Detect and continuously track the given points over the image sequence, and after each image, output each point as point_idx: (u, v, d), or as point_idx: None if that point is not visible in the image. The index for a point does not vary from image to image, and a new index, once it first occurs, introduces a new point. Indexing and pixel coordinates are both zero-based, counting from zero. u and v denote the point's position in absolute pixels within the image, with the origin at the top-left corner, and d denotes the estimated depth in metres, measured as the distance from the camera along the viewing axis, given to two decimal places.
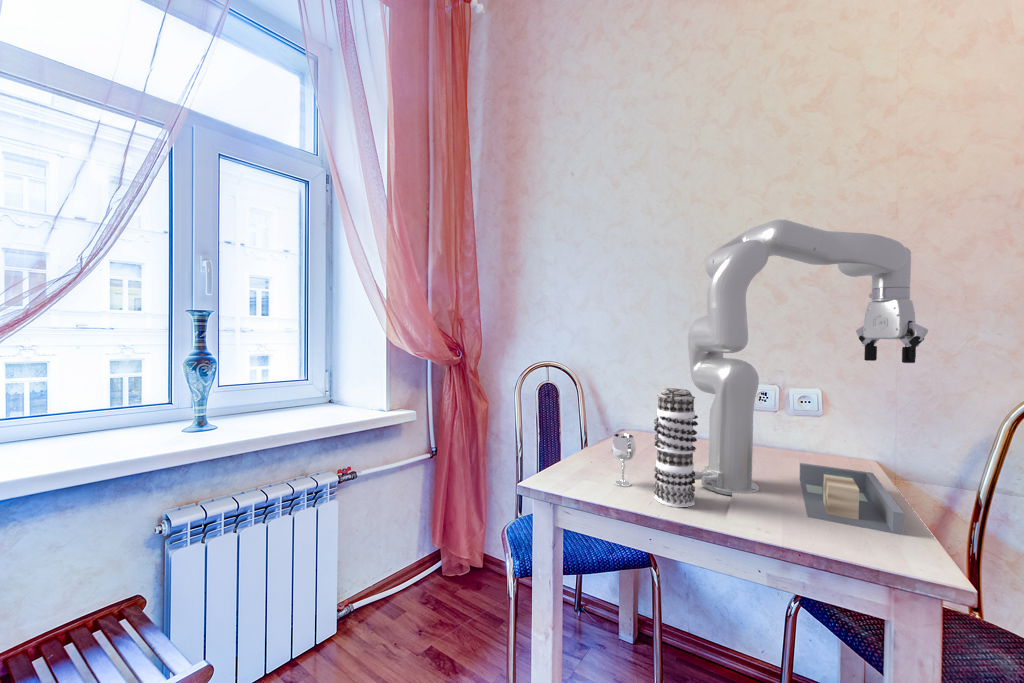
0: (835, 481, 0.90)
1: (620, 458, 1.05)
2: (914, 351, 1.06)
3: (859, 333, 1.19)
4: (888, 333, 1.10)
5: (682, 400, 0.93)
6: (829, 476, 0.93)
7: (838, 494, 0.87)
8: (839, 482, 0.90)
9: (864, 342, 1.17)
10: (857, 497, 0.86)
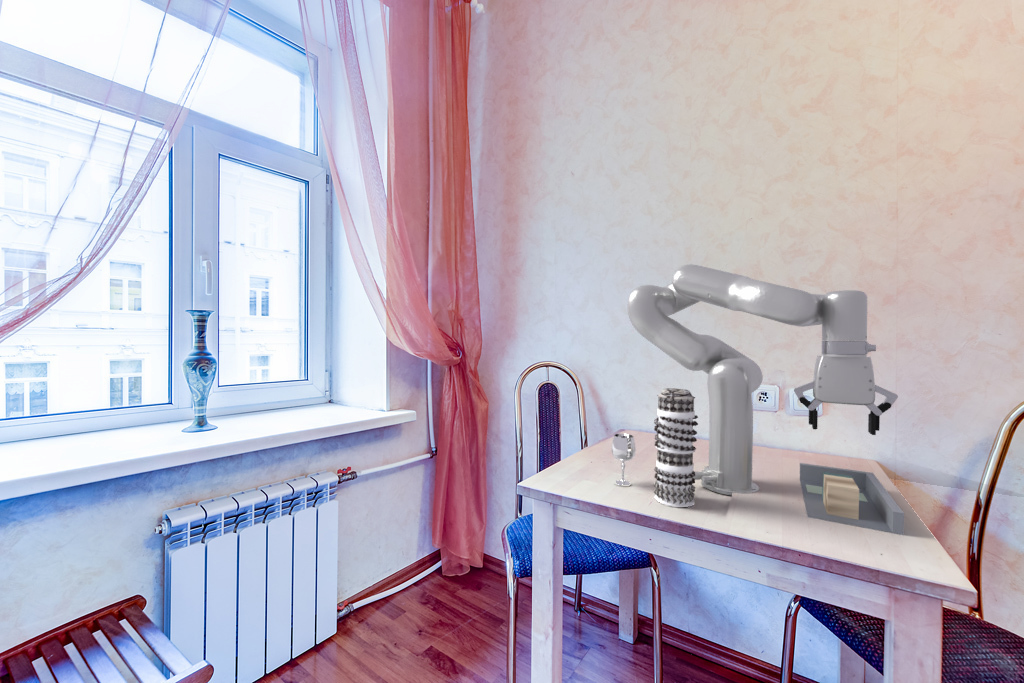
0: (835, 481, 0.90)
1: (620, 458, 1.05)
2: (809, 415, 0.93)
3: None
4: None
5: (682, 400, 0.93)
6: (829, 476, 0.93)
7: (838, 494, 0.87)
8: (839, 482, 0.90)
9: None
10: (857, 497, 0.86)
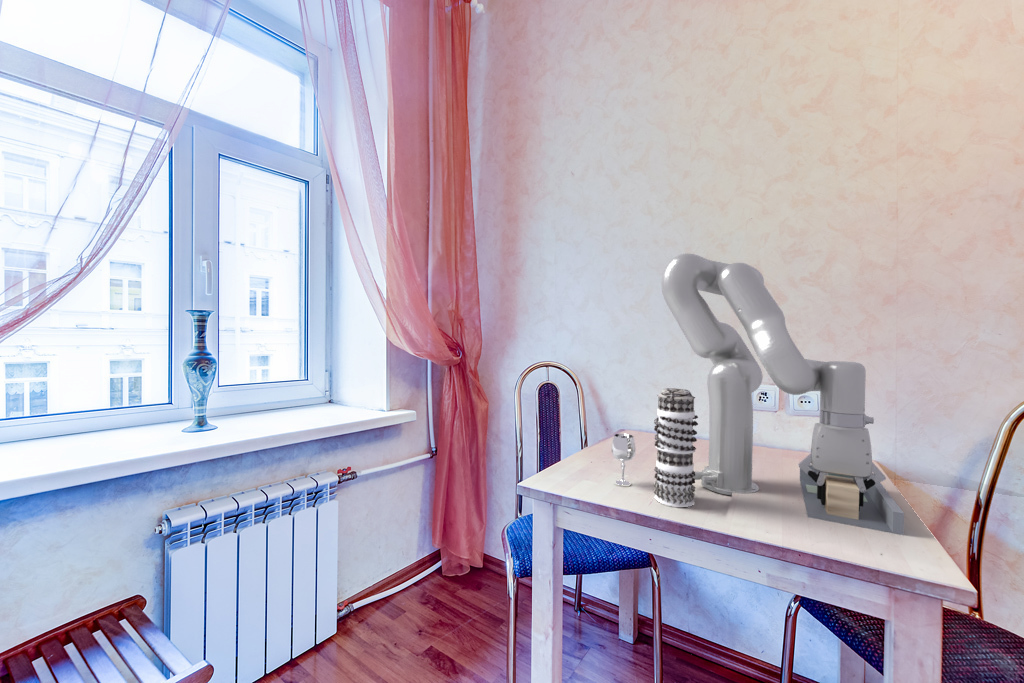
0: (835, 481, 0.90)
1: (620, 458, 1.05)
2: (817, 489, 0.93)
3: None
4: None
5: (682, 400, 0.93)
6: (829, 476, 0.93)
7: (838, 494, 0.87)
8: (839, 482, 0.89)
9: None
10: (857, 497, 0.86)
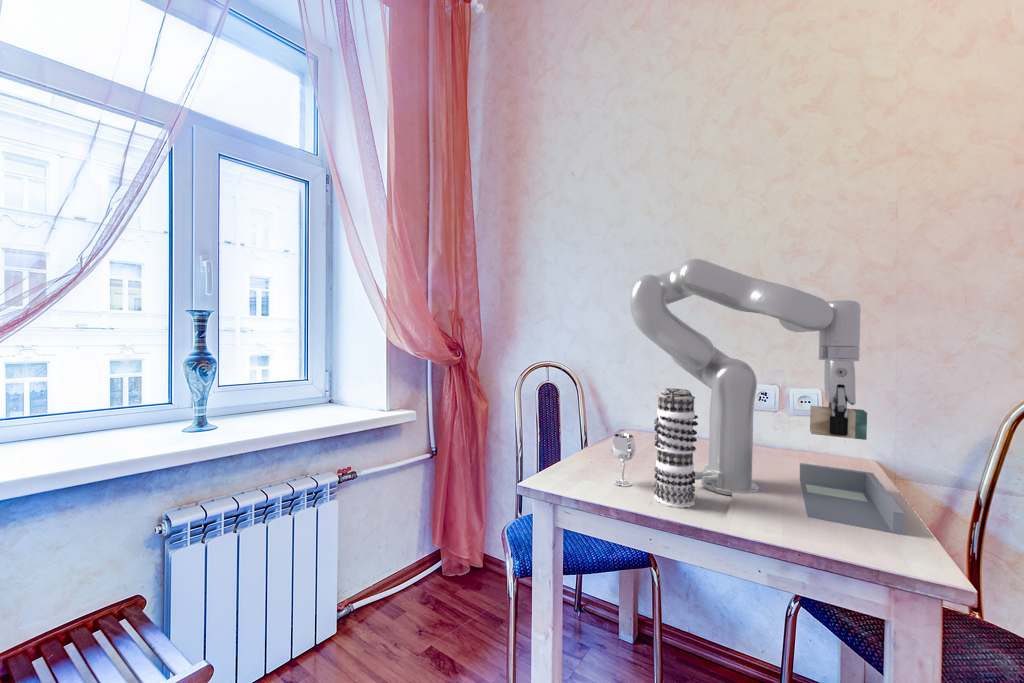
0: (828, 407, 1.01)
1: (620, 458, 1.05)
2: None
3: None
4: None
5: (682, 400, 0.93)
6: None
7: (810, 413, 1.03)
8: (827, 408, 1.01)
9: None
10: (811, 415, 1.01)
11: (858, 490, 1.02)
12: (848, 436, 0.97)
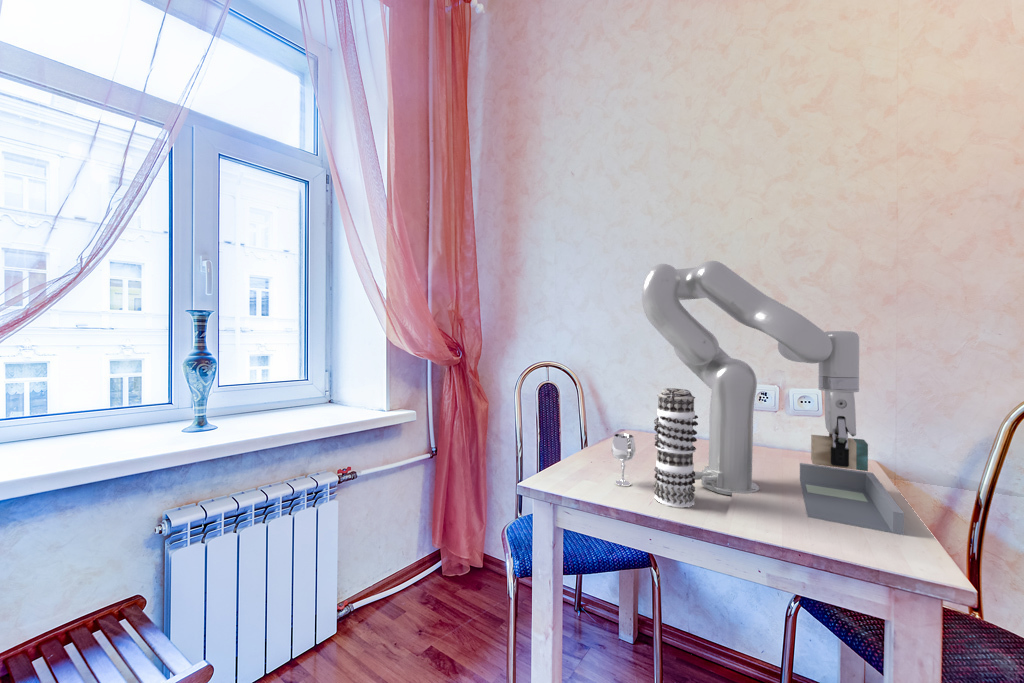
0: (829, 437, 1.02)
1: (620, 458, 1.05)
2: None
3: None
4: None
5: (682, 400, 0.93)
6: None
7: (811, 442, 1.03)
8: (828, 437, 1.01)
9: None
10: (812, 445, 1.01)
11: (858, 490, 1.02)
12: (849, 467, 0.97)
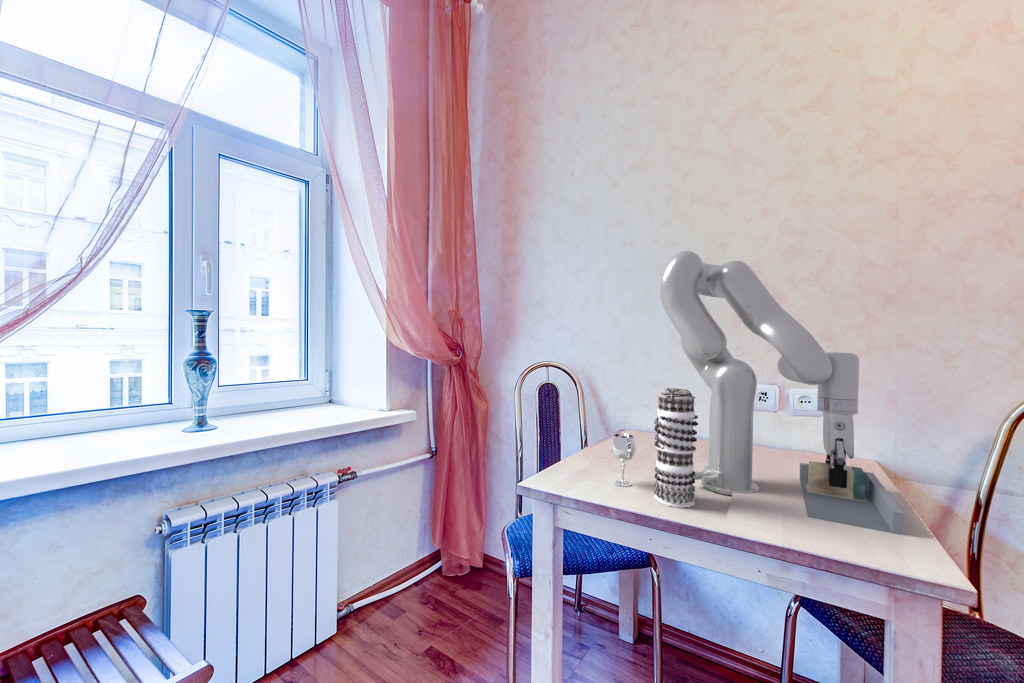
0: (826, 464, 1.02)
1: (620, 458, 1.05)
2: None
3: (843, 459, 0.94)
4: None
5: (682, 400, 0.93)
6: None
7: (809, 469, 1.03)
8: (825, 465, 1.01)
9: (845, 466, 0.96)
10: (810, 472, 1.01)
11: None
12: (846, 496, 0.97)
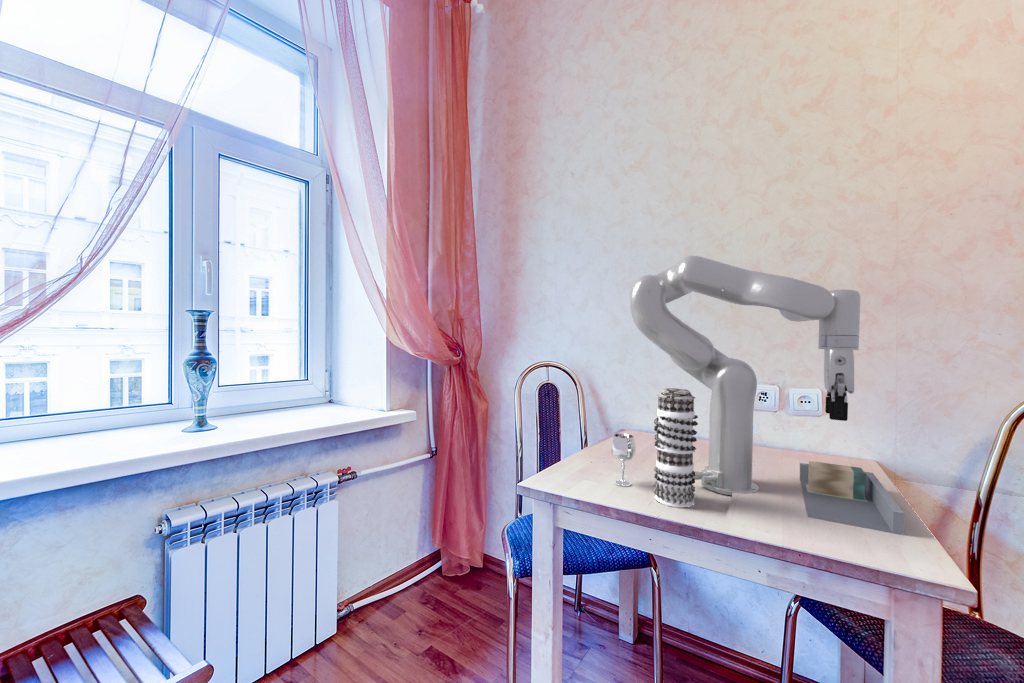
0: (826, 464, 1.02)
1: (620, 458, 1.05)
2: None
3: None
4: None
5: (682, 400, 0.93)
6: (844, 466, 1.01)
7: (809, 469, 1.03)
8: (825, 465, 1.01)
9: None
10: (810, 472, 1.01)
11: None
12: (846, 496, 0.97)
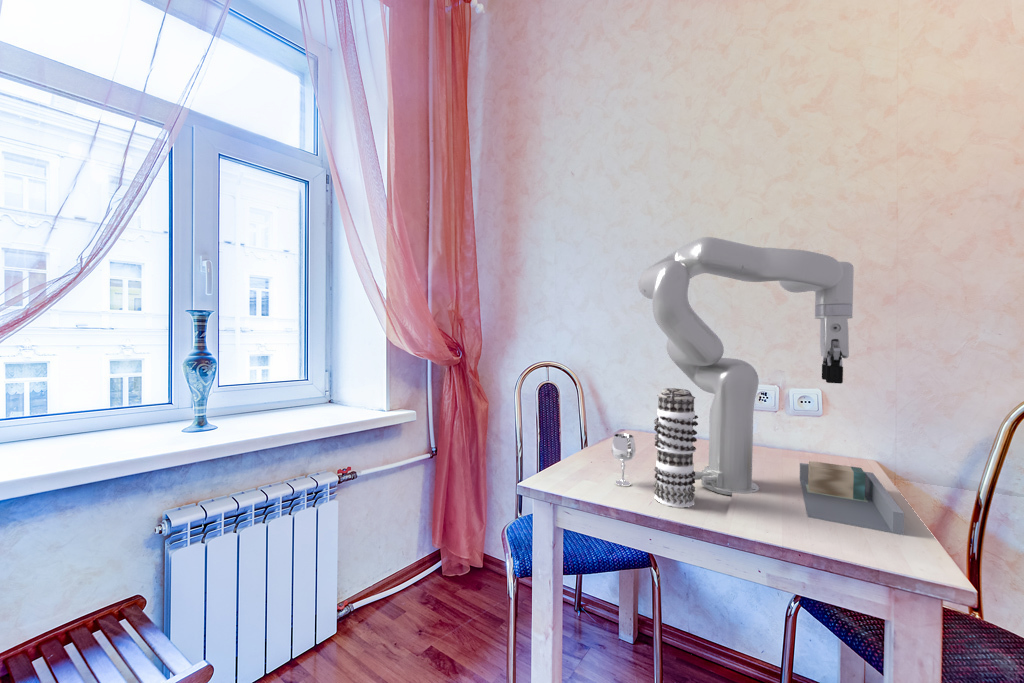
0: (826, 464, 1.02)
1: (620, 458, 1.05)
2: None
3: (839, 353, 1.00)
4: None
5: (682, 400, 0.93)
6: (844, 466, 1.01)
7: (809, 469, 1.03)
8: (825, 465, 1.01)
9: (841, 363, 1.02)
10: (810, 472, 1.01)
11: None
12: (846, 496, 0.97)
